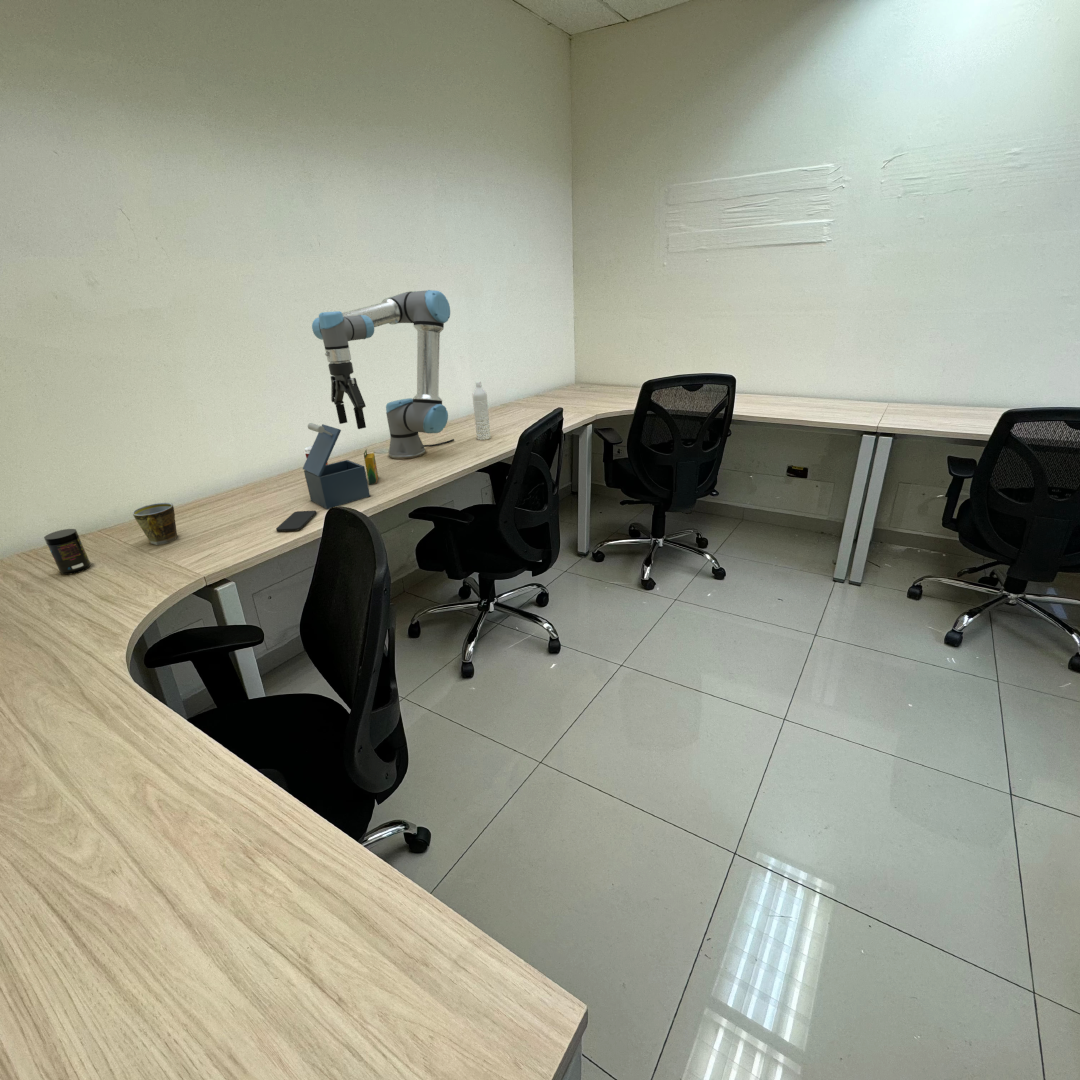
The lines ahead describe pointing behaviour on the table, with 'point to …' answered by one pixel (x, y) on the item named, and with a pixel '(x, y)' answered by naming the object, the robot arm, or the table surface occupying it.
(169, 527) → the ceramic cup
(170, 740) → the table surface
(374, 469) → the crayon box
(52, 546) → the supplement container
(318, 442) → the lid
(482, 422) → the water bottle
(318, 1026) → the table surface
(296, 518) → the phone
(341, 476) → the chest
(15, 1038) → the table surface
